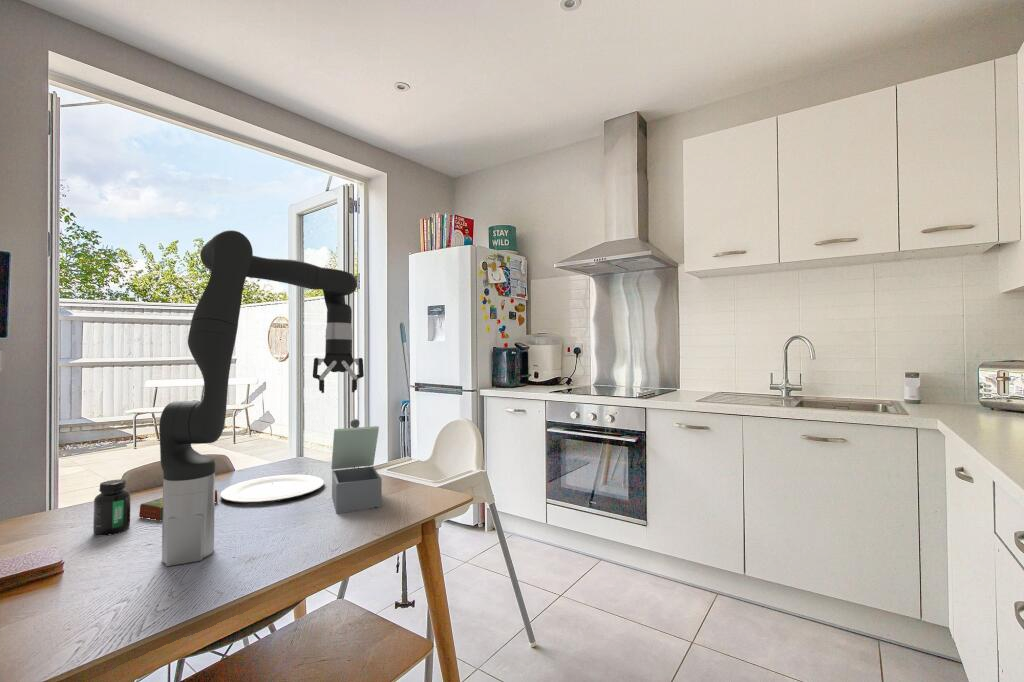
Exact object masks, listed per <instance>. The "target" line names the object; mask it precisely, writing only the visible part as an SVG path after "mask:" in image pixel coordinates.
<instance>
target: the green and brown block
mask: <svg viewBox="0 0 1024 682" xmlns="http://www.w3.org/2000/svg"><path fill="white" fill-rule="evenodd" d="M215 502H217V503H218V490H217V489H215ZM138 514H139V516H138V518H139V517H143V518H150V519H156V520H163V497H161V498H157V499H153V500H150V501H147V502H142V503H141V504H140V506H139V513H138ZM143 518H142V519H143Z"/></svg>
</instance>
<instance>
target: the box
mask: <svg viewBox="0 0 1024 682" xmlns="http://www.w3.org/2000/svg"><path fill="white" fill-rule="evenodd" d="M331 471H332V472H331V481H332V482H331V498H332V502H333V506H334V510H335V513H336V514H342V513H343V512H344V513H349V512H348V511H351V512H356V511H355V510H358V511H363V510H362V509H365V510H369V509H368V508H372V509H375V508H374V507H379V508H382V487H383V486H382V485H383V484H382V481H383V480H382V477H381V475H379V473H378V471H377V470H376V468H374V465H373V466H363V467H353V468H344V469H334V470H331Z"/></svg>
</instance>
